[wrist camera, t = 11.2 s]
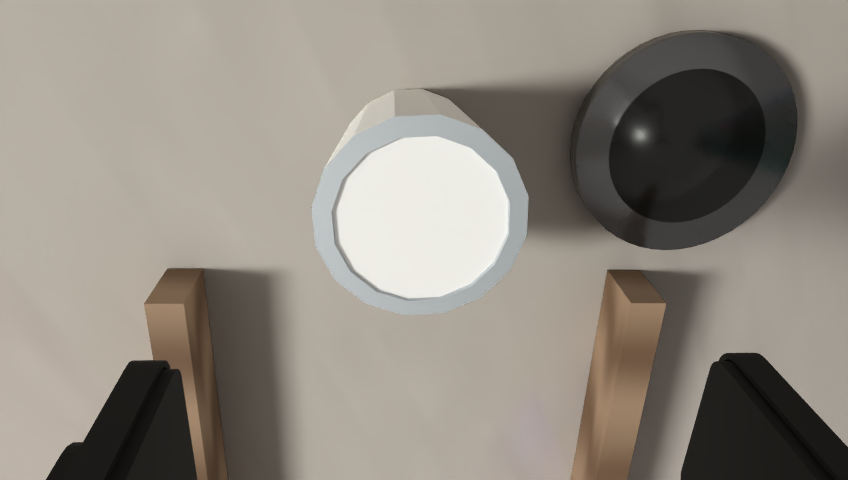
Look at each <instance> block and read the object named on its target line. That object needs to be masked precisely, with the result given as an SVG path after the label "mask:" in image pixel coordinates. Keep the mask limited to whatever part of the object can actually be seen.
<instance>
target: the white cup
mask: <svg viewBox="0 0 848 480" xmlns="http://www.w3.org/2000/svg"><path fill="white" fill-rule="evenodd" d="M311 209H312V218H313V227H314V236H315V245H316V248H317V250H318V252H319V253H320V255H321V257H322V259H323V260H324V262H325V264H326V265H327V267H328V269H329V270H330V272H331V274H332V276H333V277H334V279H335V281H337V282H338V283H339V284H341V285H342V286H343V287H345V288H346V289H347V290H348V291H350V292H351V293H352V294H354V295H355V296H356V297H358V298H359V299H360V300H362V301H363V302H364V303H366V304H367V305H371V306H374V307H378V308H381V309H385V310H388V311H392V312H395V313H399V314H402V315H419V314H435V313H446V312H448V311H450V310H453V309H455V308H457V307H460V306H462V305H464V304H467V303H469V302H472V301H474V300H476V299H479V298H481V297H482V296H483V295H484V294H485V293H487V292H488V291H489V290H490V289H491V288H492V287H493V286H494V285H495V284H496V283H497V282H498V281H499V280H500V279H502V278H503V277H504V276H505V275H506V274H507V273H508V272H509V271H510V270H511V268H512V266H513V263H514V261H515V259H516V257H517V255H518V253H519V251H520V249H521V247H522V245H523V242H524V240H525V238H526V236H527V222H528V194H527V191H526V189H525V186H524V184H523V181H522V179H521V176H520V174H519V172H518V169H517V167H516V164H515V162H514V159H513V158H512V157H511V156H510V155H509V154H508V153H507V152H506V151H505V150H504V149H503V148H501V147H500V146H499V145H498V144H497V143H496V142H495V141H494V140H493V139H492V138H491V137H490V136H489V135H488V134H487V133H486V132H485V131H483V130H482V129H481V128H480V127H479V126H478V125H477V124H476V123H475V122H474V121H472V120H471V119H470V118H469V117H468V116H467V115H466V114H465V113H464V112H462V111H461V110H460V109H459V108H458V107H457V106H456V105H455V104H454V103H452V102H451V101H450V100H449V99H448V98H445V97H443V96H440V95H437V94H434V93H432V92H429V91H426V90H424V89H411V90H394V91H392V92H389V93H387V94H385V95H383V96H381V97H379V98H377V99H375V100H373V101H370V102H369V103H368V104H367V105H366V106H365V107H364V108H363V110H362V111H361V112H360V113H359V114H358V115H357V116H356V117H355V118H354V120H353V121H352V122H351V123H350V125H349V127H348V128H347V130H346V132H345V134H344V135H343V137H342V139H341V140H340V142H339V144H338V145H337V147H336V149H335V151H334V152H333V154H332V156H331V157H330V159H329V161H328V163H327V164H326V166H325V168H324V170H323V173H322V177H321V180H320V183H319V186H318V189H317V192H316V195H315V198H314V201H313V204H312V207H311Z"/></svg>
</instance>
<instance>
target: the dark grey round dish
mask: <svg viewBox="0 0 848 480" xmlns="http://www.w3.org/2000/svg"><path fill="white" fill-rule="evenodd" d="M796 132H797V109H796V103H795V98H794V94H793V91H792V89H791V86H790V83H789V81H788V79H787V77H786V76H785V74H784V72H783V70H782V69H781V68H780V67H779V65H778V64H777V63H776V62H775V60H774V59H772V58H771V57H770V56H769V55H768V54H767V53H766V52H765V51H763V50H762V49H760V48H759V47H757V46H756V45H754V44H752V43H750V42H747V41H745V40H743V39H741V38H737V37H733V36H729V35H725V34H721V33H717V32H712V31H703V30H691V31H680V32H675V33H669V34H666V35H663V36H660V37H656V38H654V39H652V40H649V41H647V42H645V43H643V44H641V45H639V46H637V47H636V48H634V49H632V50H631V51H629V52H627V53H626V54H625V55H624V56H622V57H621V58H620V59H618V60H617V61H616V62H615V63H614V64H612V65H611V66H610V67H609V68H608V69H607V70H606V71H605V72H604V73H603V75H602V76H601V77H600V78H599V79H598V81H597V82H596V83H595V84H594V86H593V87H592V89H591V90H590V92H589V94H588V95H587V97H586V98H585V100H584V102H583V104H582V106H581V109H580V111H579V113H578V116H577V119H576V122H575V125H574V128H573V133H572V138H571V148H570V161H571V170H572V175H573V180H574V183H575V186H576V188H577V191H578V193H579V195H580V197H581V199H582V201H583V202H584V204H585V205H586V206H587V208H588V209H589V210H590V212H591V213H592V214H593V215H594V217H595V218H596V219H597V220H598V222H600V223H601V224H602V225H603V226H604V227H605V228H606V229H607V230H608V231H609V232H611V233H612V234H614V235H615V236H616V237H618V238H620V239H622V240H624V241H626V242H628V243H631V244H634V245H637V246H640V247H644V248H650V249H659V250H674V249H683V248H689V247H693V246H697V245H700V244H704V243H707V242H709V241H711V240H714V239H716V238H719V237H721V236H722V235H724V234H726V233H728V232H730V231H732V230H733V229H734V228H736V227H737V226H739V225H740V224H742V223H743V222H744V221H746V220H747V219H748V218H749V217H750V216H752V215H753V214H754V213H755V212H756V211H757V210H758V209H759V208H760V207H761V206H762V205H763V204H764V203H765V201H766V200H767V199H768V198H769V196H770V195H771V194H772V193H773V191H774V190H775V188H776V187H777V185H778V183H779V182H780V180H781V179H782V177H783V175H784V173H785V170H786V168H787V166H788V164H789V161H790V158H791V155H792V153H793V149H794V144H795V140H796Z"/></svg>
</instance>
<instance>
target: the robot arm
mask: <svg viewBox="0 0 848 480" xmlns="http://www.w3.org/2000/svg"><path fill="white" fill-rule="evenodd" d="M46 480H198V479H197V473H196V466H195V460H194V453H193V447H192V440H191V434H190V427H189V421H188V414H187V408H186V401H185V394H184V388H183V381H182V375H181V372H180V370H179V369H170V365H169V363H168V361H166V360H144V361H131V362H129V363H128V365H127V366H126V368H125V370H124V371H123V373H122V375H121V377H120V378H119V380H118V382H117V384H116V385H115V387H114V389H113V391H112V392H111V394H110V396H109V398H108V399H107V401H106V403H105V405H104V406H103V408H102V410H101V412H100V413H99V415H98V417H97V419H96V420H95V422H94V424H93V426H92V427H91V429H90V431H89V433H88V434H87V436H86V438H85V440H84V442H74V443H72V444H70V445H68V446H67V447H66V449H65V450H64V451H63V452H62V454H61V455H60V457H59V459H58V460H57V462H56V464H55V465H54V467H53V469H52V470H51V472H50V474H49V475H48V477H47V479H46ZM681 480H848V447H847V446H846V445H845V444H844V443H843V442H842V440H841V439H840V438H839V437H838V436H837V435H836V434H835V433H834V432H833V431H832V430H831V429H830V428H829V427H828V425H827V424H826V423H825V422H824V421H823V420H822V419H821V418H820V417H819V416H818V415H817V414H816V413H815V412H814V410H813V409H812V408H811V407H810V406H809V405H808V404H807V403H806V402H805V401H804V400H803V399H802V398H801V396H800V395H799V394H798V393H797V392H796V391H795V390H794V389H793V388H792V387H791V386H790V385H789V384H788V383H787V381H786V380H785V379H784V378H783V377H782V376H781V375H780V374H779V373H778V372H777V371H776V370H775V369H774V368H773V366H772V365H771V364H770V363H769V362H768V361H767V360H766V359H765V358H764V357H763V356H762V355H760V354H758V353H726V354H723V355H722V356H721V357H720V359H719V361H716V362H714V363H713V364H712V365H711V368H710V371H709V374H708V378H707V381H706V385H705V389H704V392H703V396H702V399H701V403H700V406H699V410H698V414H697V417H696V421H695V424H694V428H693V431H692V435H691V438H690V442H689V446H688V449H687V453H686V456H685V460H684V463H683V467H682V471H681Z"/></svg>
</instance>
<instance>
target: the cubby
mask: <svg viewBox="0 0 848 480" xmlns="http://www.w3.org/2000/svg"><path fill="white" fill-rule="evenodd" d="M144 306H145V312H146V318H147V324H148V330H149V336H150V342H151V348H152V354H153V360H166V361H168V363H169V365H170V369H179V370H180V372H181V375H182V381H183V388H184V394H185V401H186V408H187V414H188V421H189V427H190V434H191V440H192V447H193V453H194V460H195V466H196V473H197V479H198V480H228V477H227V468H226V460H225V451H224V443H223V435H222V426H221V418H220V409H219V401H218V393H217V384H216V376H215V367H214V359H213V351H212V342H211V334H210V325H209V317H208V308H207V300H206V292H205V283H204V275H203V269H167V270H166V272H165V273H164V275H163V276H162V278H161V279H160V281H159V282H158V284H157V285H156V287H155V288H154V290H153V291H152V293H151V294H150V296H149V297H148V299H147V300H146V302H145V303H144ZM665 308H666V302H665V301H664V300H663V298H662V297H661V296H660V295H659V294H658V292H657V291H656V290H655V289H654V287H653V286H652V285H651V284H650V282H649V281H648V280H647V279H646V278H645V276H644V275H643V274H642V273H641V271H640V270H607V276H606V281H605V287H604V293H603V299H602V304H601V310H600V316H599V321H598V327H597V333H596V339H595V344H594V350H593V356H592V362H591V367H590V373H589V379H588V385H587V390H586V396H585V402H584V407H583V413H582V419H581V425H580V430H579V436H578V442H577V448H576V453H575V459H574V465H573V471H572V476H571V480H627V478H628V474H629V469H630V465H631V460H632V456H633V451H634V447H635V442H636V438H637V433H638V429H639V424H640V420H641V415H642V411H643V406H644V402H645V397H646V393H647V388H648V384H649V379H650V375H651V371H652V366H653V362H654V357H655V353H656V348H657V344H658V339H659V335H660V330H661V326H662V321H663V317H664V312H665Z"/></svg>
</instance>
